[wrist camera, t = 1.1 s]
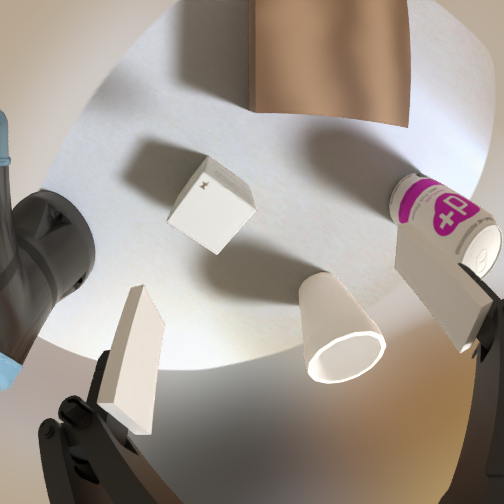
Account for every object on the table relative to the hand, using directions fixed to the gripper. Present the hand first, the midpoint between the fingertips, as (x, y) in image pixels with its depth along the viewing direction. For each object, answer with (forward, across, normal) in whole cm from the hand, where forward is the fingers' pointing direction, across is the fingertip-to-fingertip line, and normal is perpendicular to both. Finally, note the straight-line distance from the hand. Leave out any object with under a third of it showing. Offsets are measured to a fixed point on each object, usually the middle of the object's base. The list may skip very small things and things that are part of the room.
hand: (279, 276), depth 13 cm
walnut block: (+19, +10, +12) cm, 25 cm away
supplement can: (+19, +22, -8) cm, 30 cm away
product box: (+20, -4, -1) cm, 20 cm away
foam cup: (+19, +7, -19) cm, 28 cm away
